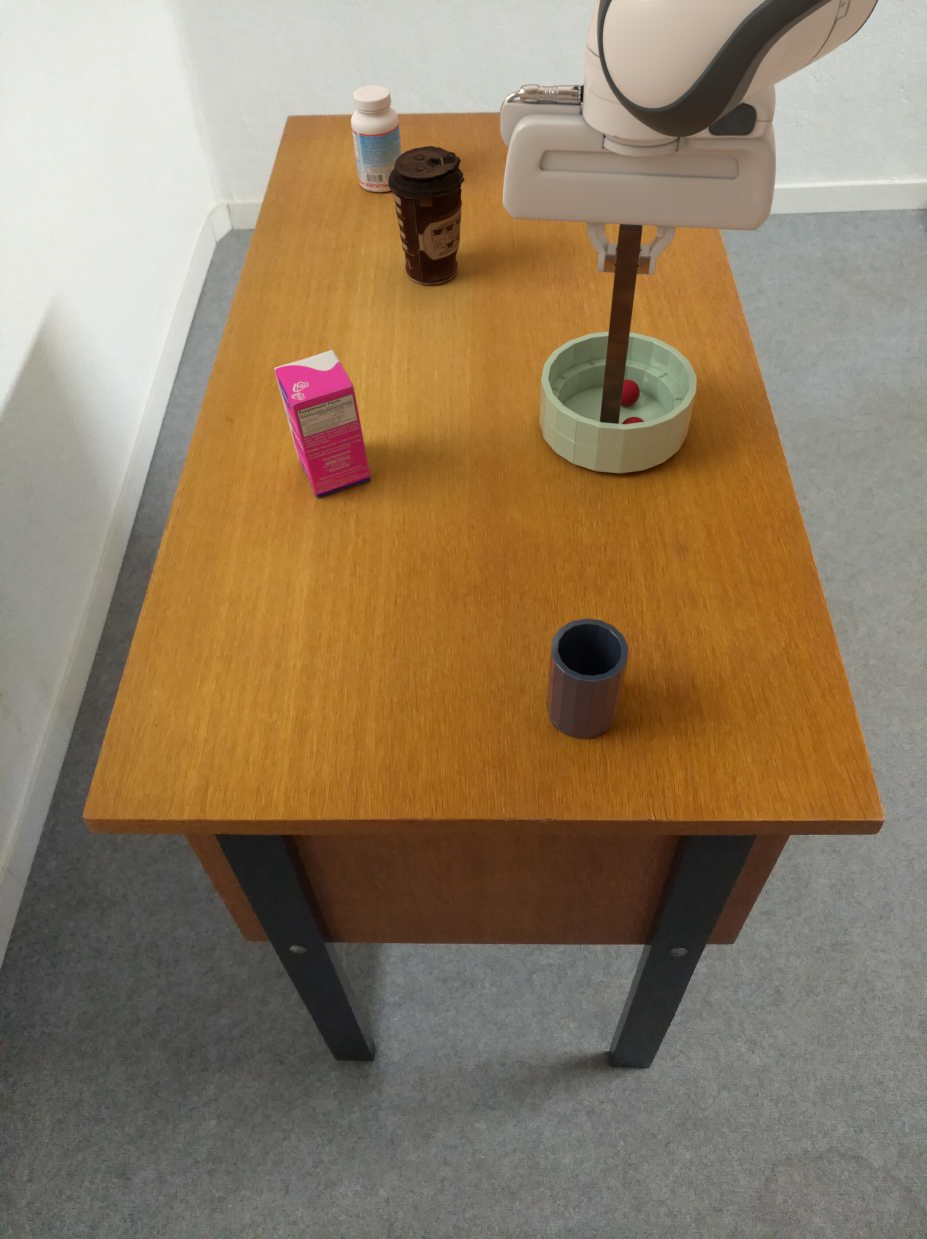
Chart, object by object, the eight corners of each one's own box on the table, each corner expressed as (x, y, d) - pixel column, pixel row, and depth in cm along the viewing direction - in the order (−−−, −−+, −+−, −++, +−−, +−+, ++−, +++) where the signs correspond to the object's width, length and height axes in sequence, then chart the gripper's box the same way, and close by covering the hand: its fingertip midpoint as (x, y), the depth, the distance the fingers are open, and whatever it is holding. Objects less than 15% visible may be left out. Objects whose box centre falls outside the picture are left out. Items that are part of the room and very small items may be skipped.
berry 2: (646, 433, 87) (649, 412, 85) (644, 451, 86) (648, 430, 84) (619, 430, 87) (622, 409, 85) (617, 448, 86) (620, 427, 84)
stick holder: (619, 683, 71) (630, 623, 64) (614, 743, 67) (625, 685, 61) (551, 675, 71) (555, 614, 65) (543, 733, 68) (547, 675, 62)
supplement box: (296, 462, 87) (272, 365, 78) (353, 444, 88) (336, 346, 79) (314, 500, 84) (291, 403, 75) (373, 481, 85) (357, 384, 76)
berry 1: (638, 396, 90) (642, 375, 88) (637, 412, 89) (640, 391, 87) (613, 394, 91) (615, 373, 89) (611, 410, 89) (613, 389, 87)
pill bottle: (413, 179, 120) (406, 89, 111) (383, 198, 117) (373, 108, 108) (379, 167, 122) (369, 78, 113) (349, 185, 119) (337, 95, 111)
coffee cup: (483, 264, 107) (480, 153, 97) (445, 299, 103) (438, 187, 93) (422, 245, 110) (414, 135, 100) (383, 278, 106) (370, 168, 96)
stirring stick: (619, 417, 86) (643, 218, 71) (617, 429, 85) (642, 230, 70) (600, 416, 87) (620, 217, 71) (599, 428, 86) (618, 229, 70)
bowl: (687, 386, 92) (697, 337, 87) (684, 484, 84) (695, 435, 79) (548, 375, 94) (551, 326, 89) (531, 470, 85) (533, 421, 81)
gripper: (492, 103, 62) (495, 284, 73) (798, 113, 59) (753, 299, 70) (505, 65, 66) (506, 242, 77) (793, 72, 63) (751, 255, 74)
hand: (626, 269), depth 73 cm, fingers closed on stirring stick, 2 cm apart
